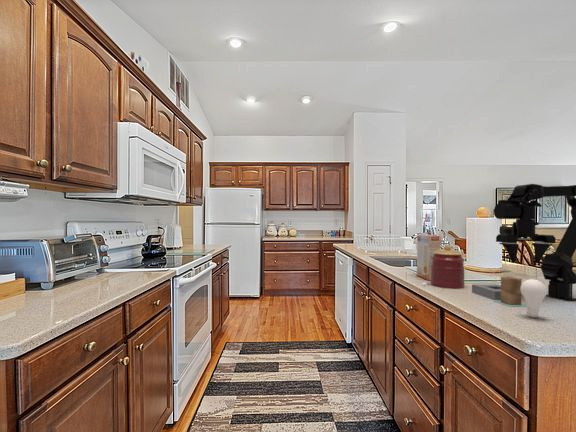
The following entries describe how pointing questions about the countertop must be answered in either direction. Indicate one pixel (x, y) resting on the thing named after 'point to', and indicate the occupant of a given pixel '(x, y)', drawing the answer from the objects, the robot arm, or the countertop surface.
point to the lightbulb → (533, 295)
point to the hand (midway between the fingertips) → (525, 262)
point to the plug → (510, 290)
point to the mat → (511, 305)
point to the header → (487, 290)
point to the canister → (447, 268)
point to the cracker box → (426, 254)
